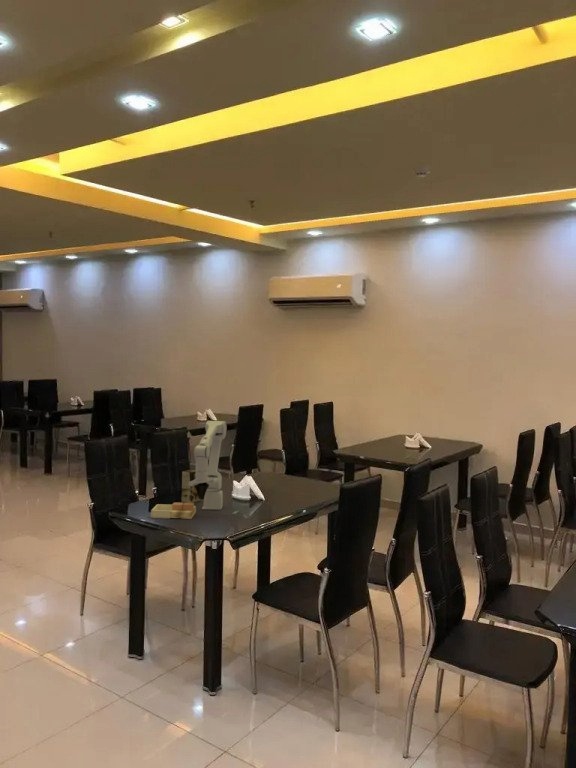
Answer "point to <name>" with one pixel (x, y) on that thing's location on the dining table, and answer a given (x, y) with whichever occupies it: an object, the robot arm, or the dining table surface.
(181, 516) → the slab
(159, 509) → the tray
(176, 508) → the tile
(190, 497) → the coffee box
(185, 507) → the tile
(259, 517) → the dining table surface
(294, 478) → the dining table surface
